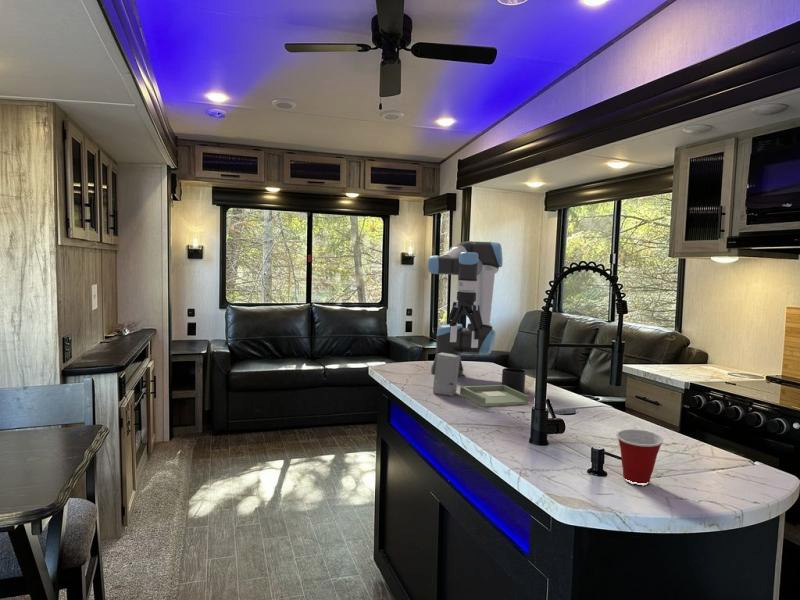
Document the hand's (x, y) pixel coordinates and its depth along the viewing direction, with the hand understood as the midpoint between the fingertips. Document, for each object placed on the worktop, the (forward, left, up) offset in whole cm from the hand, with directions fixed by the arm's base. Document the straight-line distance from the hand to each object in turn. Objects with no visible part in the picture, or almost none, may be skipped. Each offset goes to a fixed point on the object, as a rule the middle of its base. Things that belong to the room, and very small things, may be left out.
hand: (463, 344), depth 213 cm
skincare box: (-3, -5, -20) cm, 21 cm away
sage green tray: (+9, +10, -20) cm, 24 cm away
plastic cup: (+87, +5, -20) cm, 90 cm away
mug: (-2, +25, -20) cm, 32 cm away
